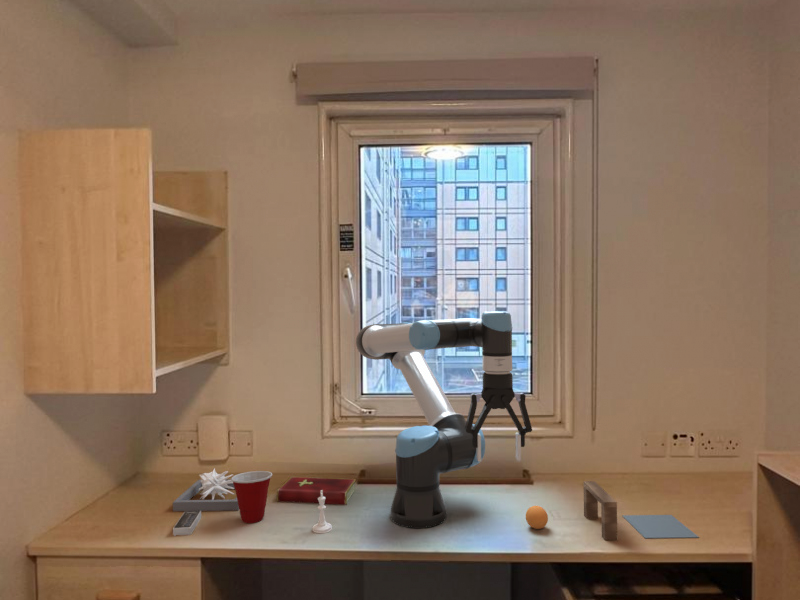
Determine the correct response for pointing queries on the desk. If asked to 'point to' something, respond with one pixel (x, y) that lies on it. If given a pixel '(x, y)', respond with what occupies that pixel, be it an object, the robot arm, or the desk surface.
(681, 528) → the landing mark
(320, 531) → the chess piece
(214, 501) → the ball rest frame
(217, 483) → the spiky ball
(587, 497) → the bridge
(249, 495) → the plastic cup
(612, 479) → the desk surface
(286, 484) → the hardcover book
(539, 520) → the ball
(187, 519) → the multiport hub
